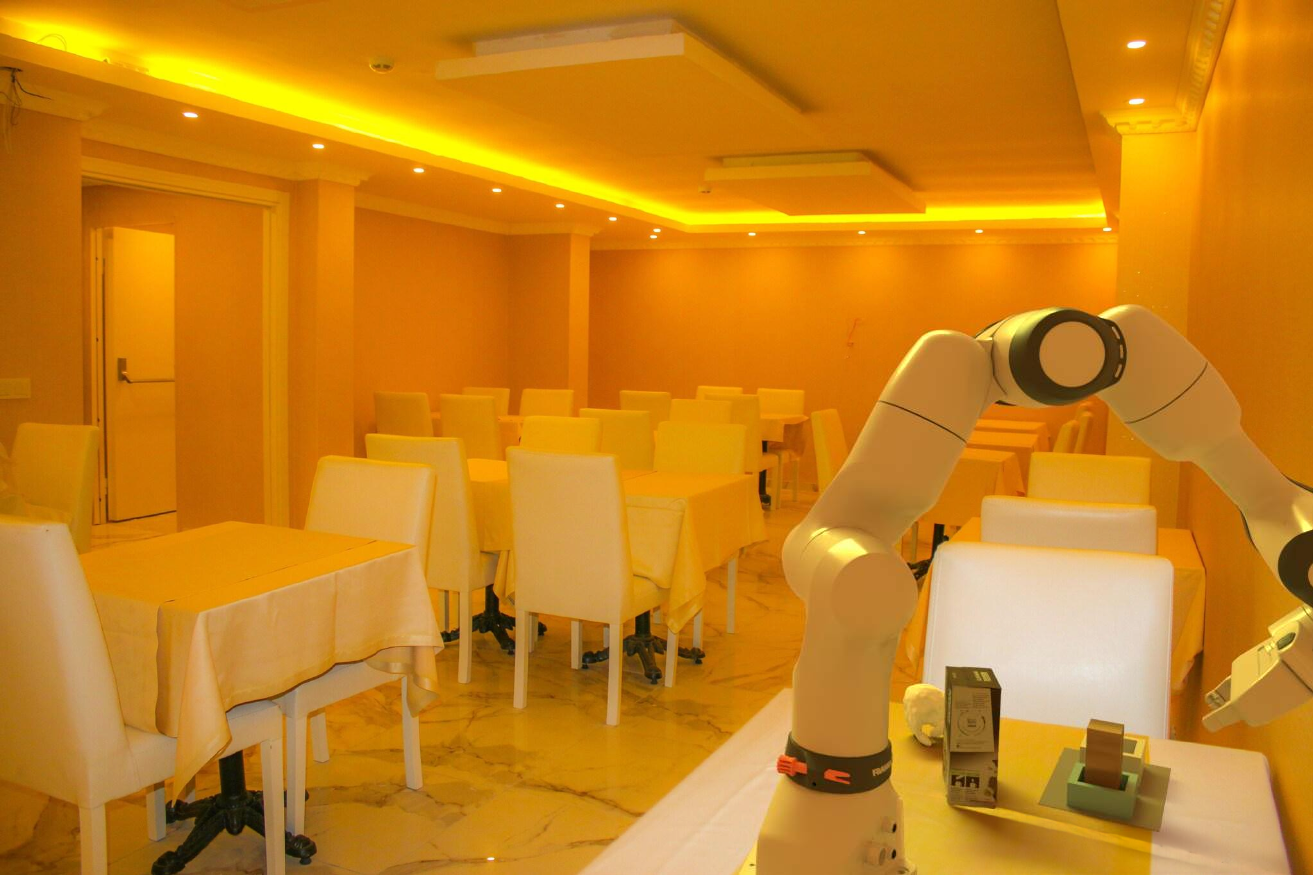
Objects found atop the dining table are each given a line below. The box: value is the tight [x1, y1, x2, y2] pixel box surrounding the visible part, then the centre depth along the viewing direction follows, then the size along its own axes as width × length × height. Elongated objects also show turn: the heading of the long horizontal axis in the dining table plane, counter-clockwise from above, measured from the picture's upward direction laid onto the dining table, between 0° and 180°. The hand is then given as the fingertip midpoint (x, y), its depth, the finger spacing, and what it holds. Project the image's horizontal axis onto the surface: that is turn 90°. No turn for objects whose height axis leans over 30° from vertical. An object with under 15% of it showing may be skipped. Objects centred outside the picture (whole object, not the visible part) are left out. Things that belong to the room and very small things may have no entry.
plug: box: [1084, 718, 1125, 791], centre depth 127 cm, size 4×4×10 cm
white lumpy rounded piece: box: [902, 683, 945, 747], centre depth 150 cm, size 6×8×12 cm
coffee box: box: [941, 665, 1003, 810], centre depth 131 cm, size 9×6×16 cm
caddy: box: [1037, 731, 1171, 833], centre depth 132 cm, size 22×14×5 cm, turn 149°
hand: (1207, 714), depth 121 cm, fingers open, 8 cm apart
